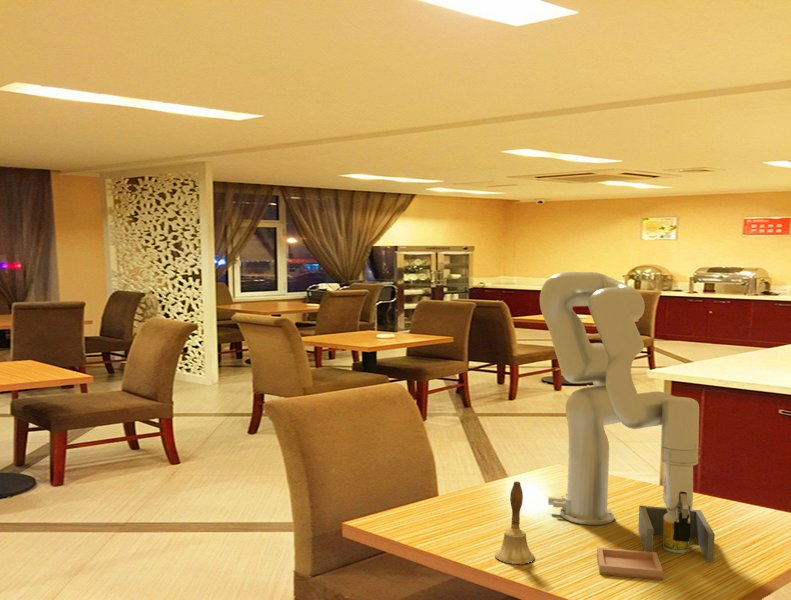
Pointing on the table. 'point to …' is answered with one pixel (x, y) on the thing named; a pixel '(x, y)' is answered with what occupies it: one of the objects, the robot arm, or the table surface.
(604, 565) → the tray
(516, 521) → the hand bell
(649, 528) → the bay
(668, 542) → the supplement bottle
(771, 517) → the table surface
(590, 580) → the table surface
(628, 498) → the table surface
